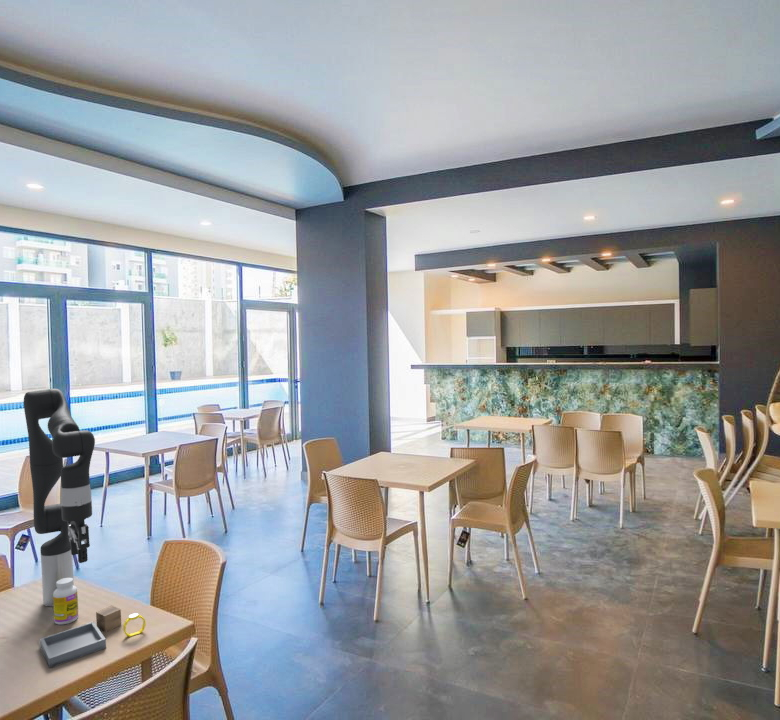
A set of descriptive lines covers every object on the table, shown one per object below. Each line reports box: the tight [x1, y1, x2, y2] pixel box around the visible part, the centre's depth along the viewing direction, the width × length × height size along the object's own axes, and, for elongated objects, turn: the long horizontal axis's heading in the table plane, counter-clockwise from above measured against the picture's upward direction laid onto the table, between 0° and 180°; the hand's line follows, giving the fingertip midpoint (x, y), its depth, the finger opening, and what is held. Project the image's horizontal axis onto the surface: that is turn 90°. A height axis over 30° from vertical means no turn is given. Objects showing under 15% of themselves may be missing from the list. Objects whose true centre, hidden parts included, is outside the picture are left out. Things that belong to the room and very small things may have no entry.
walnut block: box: [95, 605, 122, 633], centre depth 169 cm, size 5×5×5 cm
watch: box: [122, 612, 146, 638], centre depth 164 cm, size 6×3×6 cm, turn 127°
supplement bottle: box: [53, 578, 79, 626], centre depth 174 cm, size 7×7×13 cm
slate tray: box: [39, 620, 107, 669], centre depth 157 cm, size 14×14×3 cm
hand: (79, 558), depth 155 cm, fingers open, 8 cm apart
